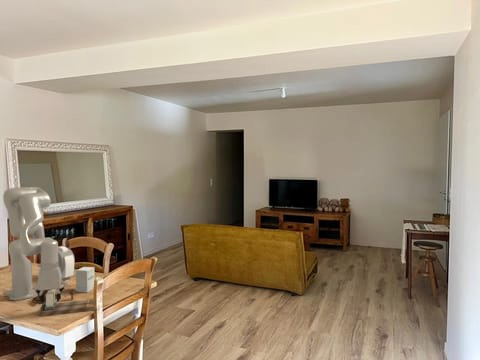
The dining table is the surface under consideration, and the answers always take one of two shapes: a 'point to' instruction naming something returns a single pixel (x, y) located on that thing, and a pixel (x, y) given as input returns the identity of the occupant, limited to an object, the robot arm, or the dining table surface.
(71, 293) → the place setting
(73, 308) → the fader panel
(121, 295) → the dining table surface
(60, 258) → the alarm clock
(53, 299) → the fader knob
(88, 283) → the supplement box
